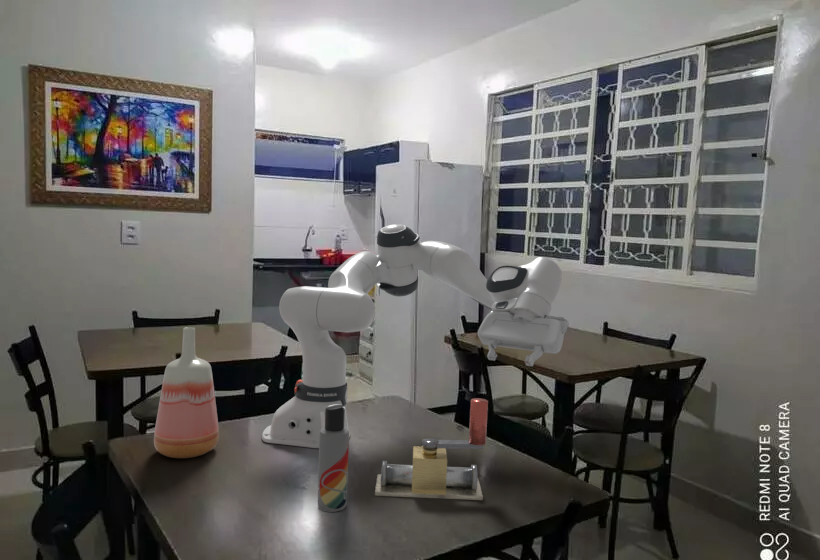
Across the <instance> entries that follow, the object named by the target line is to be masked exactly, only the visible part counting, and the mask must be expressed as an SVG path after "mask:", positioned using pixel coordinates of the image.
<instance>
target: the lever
mask: <svg viewBox="0 0 820 560" xmlns="http://www.w3.org/2000/svg"><path fill="white" fill-rule="evenodd" d="M488 405H489V400H487V399H485V398H479V397H477V398H475V397H474V398H471V399H470V409H469V427H468V428H469V429H468V430H469V432H468V434H469V435H468V439H467V440H466V439H464V440H463V439H436V438H431V437H428V438H423V439H421V447H422V448H424V449H428V450H435V449H438V448H446V450H447V449H451V450H453V449H455V450H456V449H458V450H460V449H461V450H468V449H469V450H483V449H484V446H485V445H486V443H487V427H488V425H487V424H488V407H489V406H488Z"/></svg>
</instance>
